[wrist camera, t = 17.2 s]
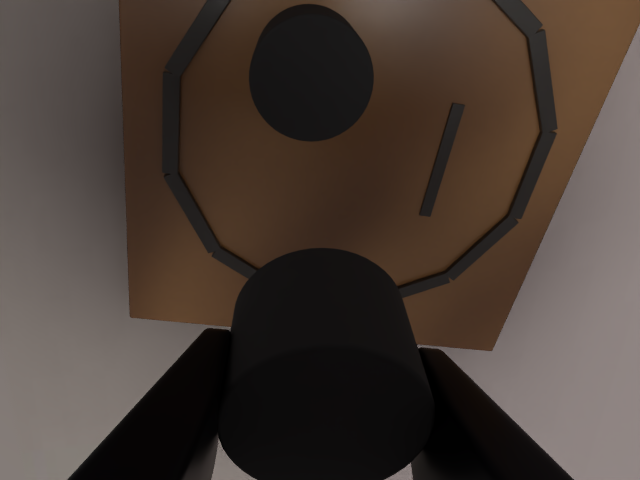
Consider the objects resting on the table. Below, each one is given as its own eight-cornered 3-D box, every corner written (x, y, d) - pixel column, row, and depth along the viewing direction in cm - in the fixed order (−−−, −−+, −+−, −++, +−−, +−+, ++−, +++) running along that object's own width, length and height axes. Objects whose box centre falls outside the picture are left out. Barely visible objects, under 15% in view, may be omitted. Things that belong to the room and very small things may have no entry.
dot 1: (249, 107, 15) (243, 133, 13) (261, -6, 14) (254, 2, 12) (350, 122, 16) (360, 150, 14) (372, 14, 14) (387, 26, 12)
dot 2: (228, 373, 10) (209, 490, 8) (240, 235, 8) (221, 334, 6) (382, 386, 10) (406, 501, 8) (423, 256, 9) (464, 356, 7)
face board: (136, 302, 20) (127, 321, 19) (122, -211, 12) (107, -226, 11) (484, 336, 22) (494, 355, 21) (668, -91, 14) (698, -93, 13)
